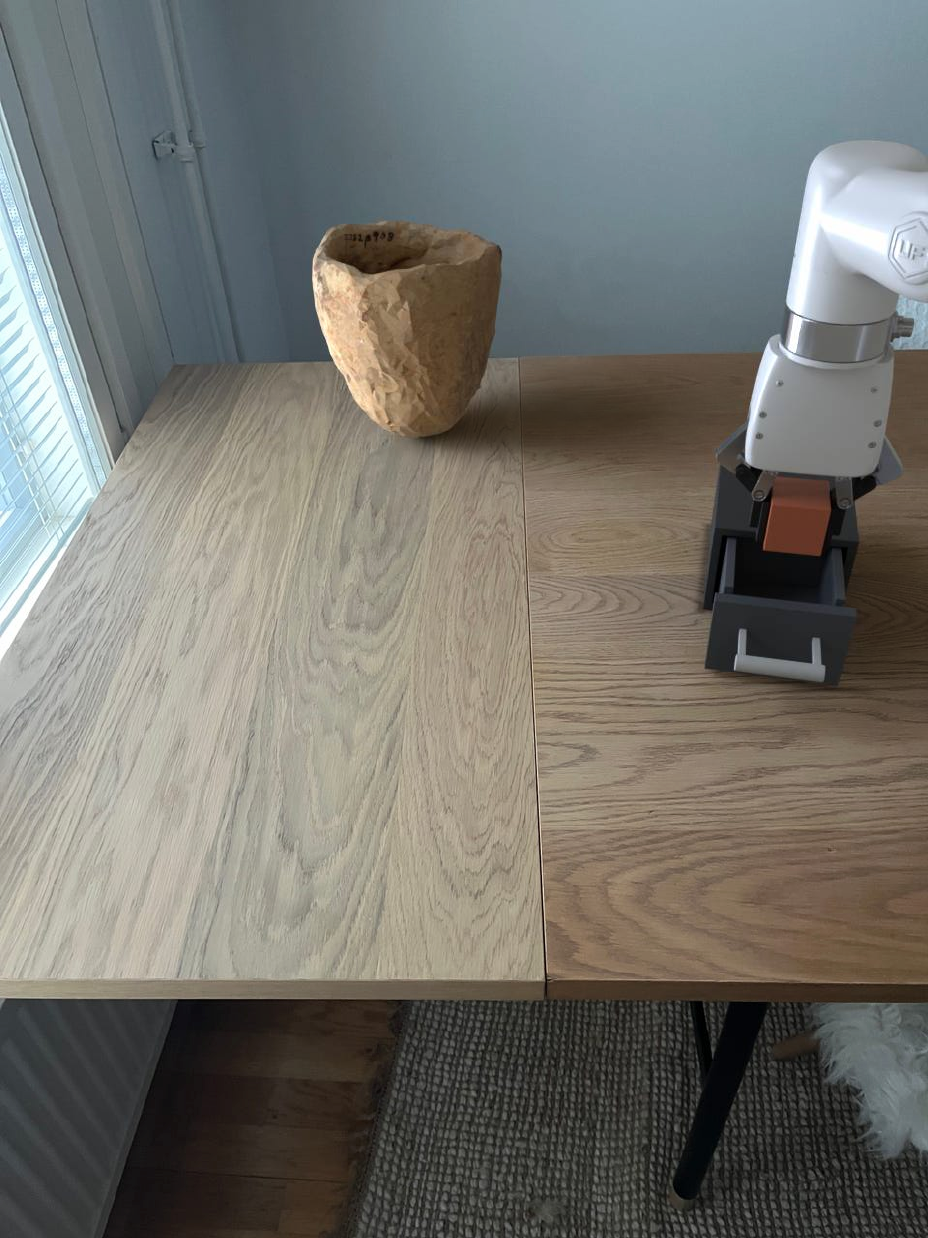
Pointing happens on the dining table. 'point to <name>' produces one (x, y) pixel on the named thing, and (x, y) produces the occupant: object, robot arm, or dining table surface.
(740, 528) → the drawer cabinet
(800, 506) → the block
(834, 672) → the dark grey drawer
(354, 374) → the rough clay pot
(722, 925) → the dining table surface
